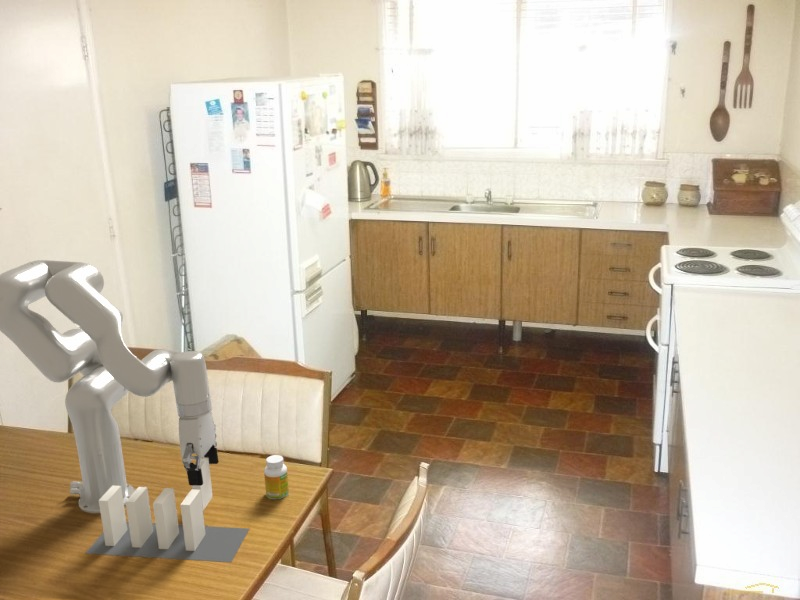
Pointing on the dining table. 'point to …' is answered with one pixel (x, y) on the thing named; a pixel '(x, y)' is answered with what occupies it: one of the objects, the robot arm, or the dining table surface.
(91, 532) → the dining table surface
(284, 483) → the supplement bottle
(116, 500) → the domino
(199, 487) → the domino
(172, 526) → the domino
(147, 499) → the domino
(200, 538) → the domino
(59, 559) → the dining table surface
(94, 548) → the mat
